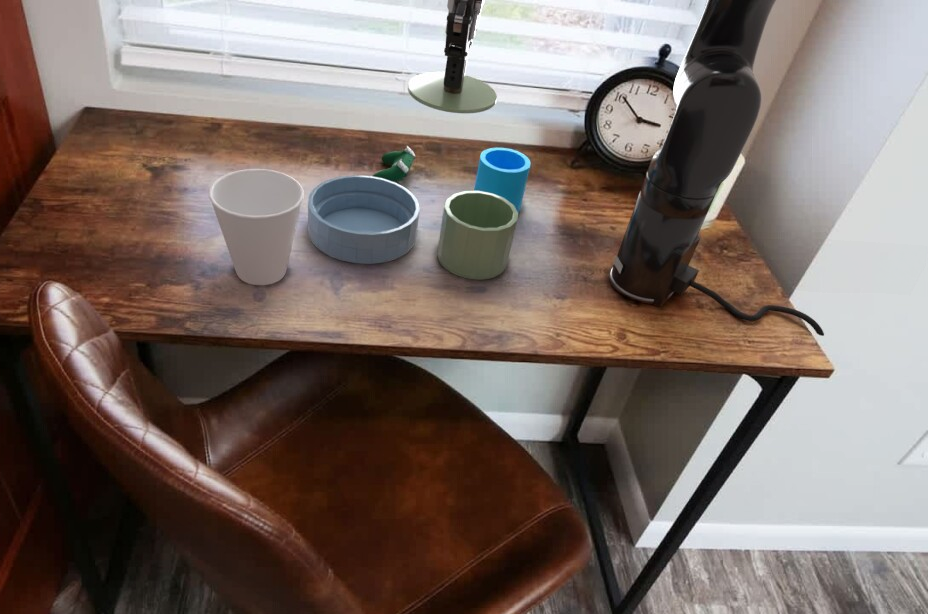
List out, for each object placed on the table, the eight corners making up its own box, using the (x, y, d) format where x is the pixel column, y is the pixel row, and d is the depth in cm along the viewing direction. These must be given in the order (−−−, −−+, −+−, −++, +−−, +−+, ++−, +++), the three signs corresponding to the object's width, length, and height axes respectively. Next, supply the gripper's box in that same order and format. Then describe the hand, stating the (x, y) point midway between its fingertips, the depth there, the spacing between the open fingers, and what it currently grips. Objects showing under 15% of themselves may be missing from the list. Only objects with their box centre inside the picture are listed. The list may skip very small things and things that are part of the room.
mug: (523, 219, 114) (533, 174, 109) (473, 215, 114) (481, 169, 108) (515, 182, 123) (525, 139, 118) (469, 178, 123) (476, 134, 117)
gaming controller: (382, 197, 118) (409, 179, 115) (368, 179, 117) (395, 161, 114) (394, 171, 125) (420, 154, 122) (381, 155, 124) (407, 137, 120)
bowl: (437, 238, 108) (441, 207, 104) (363, 280, 98) (365, 248, 94) (361, 195, 115) (362, 164, 111) (285, 231, 105) (284, 199, 101)
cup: (210, 251, 99) (201, 172, 91) (293, 241, 103) (292, 164, 95) (224, 303, 91) (216, 221, 83) (314, 290, 95) (314, 211, 87)
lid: (499, 89, 93) (509, 43, 89) (490, 125, 85) (500, 75, 81) (416, 73, 94) (421, 26, 90) (398, 107, 86) (404, 57, 82)
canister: (509, 246, 108) (520, 198, 103) (503, 285, 100) (514, 236, 95) (443, 233, 109) (450, 185, 103) (432, 271, 101) (439, 221, 96)
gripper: (506, -53, 71) (476, 110, 83) (516, -80, 82) (489, 68, 93) (433, -66, 72) (414, 98, 83) (453, -91, 82) (433, 58, 94)
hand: (453, 81), depth 88 cm, fingers closed on lid, 2 cm apart
